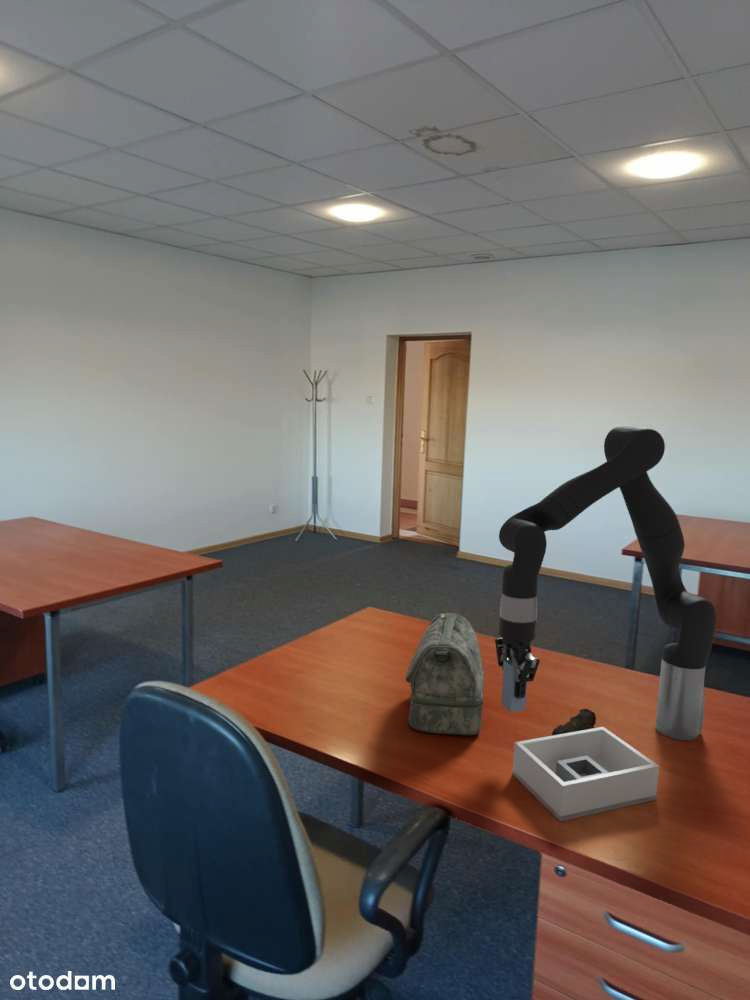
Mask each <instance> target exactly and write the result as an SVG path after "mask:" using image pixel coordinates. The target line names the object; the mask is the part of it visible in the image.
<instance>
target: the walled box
mask: <svg viewBox="0 0 750 1000" xmlns="http://www.w3.org/2000/svg"><path fill="white" fill-rule="evenodd" d="M513 748H514V749H513V764H512V776H513V777H515V778H516V780H518V781H519V782H520V783H521V785H523V786H524V787H525V788H526V789H527V790H528V791H529V792H530V793H531V794H532V795H533V796H534V797H535V798H536V799H537V800H538V801H539V802H540V803H541V804H542V805H543V807H545V808H546V809H547V810H548V811H549V812H550V813H551V814H552V815H553V816H554V818H555V819H557V820H558V821H559V822H565V821H568V820H569V821H570V820H574V819H578V818H582V817H587V816H592V815H596V814H600V813H605V812H608V811H612V810H616V809H622V808H625V807H629V806H635V805H638V804H642V803H646V802H651V801H656V800H657V792H658V783H659V782H658V780H659V770H660V766H659V764H657V763H656V762H654V761H653V760H651V759H650V758H649V757H647V756H646V755H644V754H643V753H642V752H640V751H639V750H637V749H636V748H634V747H633V746H631V745H630V744H628V743H627V742H626V741H624V740H623V739H622V738H620V737H619V736H617V735H616V734H615V733H613V732H611V731H610V730H609V729H607V728H606V727H604V726H599V727H594V728H586V729H585V730H582V731H576V732H570V733H565V734H559V735H553V736H552V735H549V736H544V737H537V738H532V739H526V740H519V741H514V747H513Z"/></svg>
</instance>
